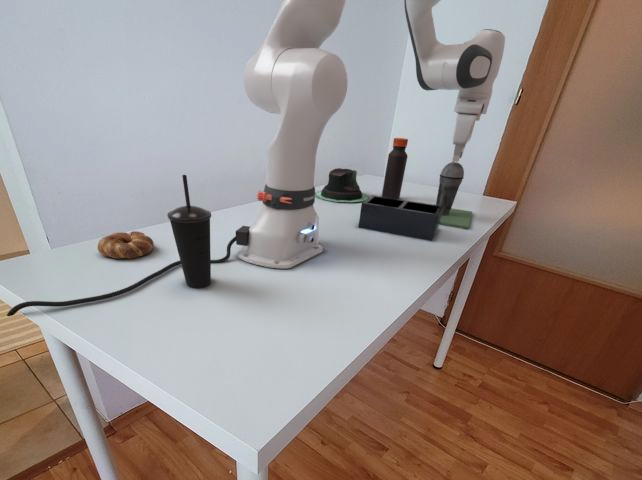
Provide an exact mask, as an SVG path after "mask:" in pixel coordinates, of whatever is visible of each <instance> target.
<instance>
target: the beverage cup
mask: <svg viewBox="0 0 642 480" xmlns="http://www.w3.org/2000/svg"><path fill="white" fill-rule="evenodd" d="M454 150H455V148H454ZM454 150H453V151H454ZM453 156H454V154H453ZM464 176H465V170H464V167H463V165H462V164H461V163H460V162H453V161H451V162H449V163H447V164H445V166H444V167H443V168H442V170H441V171H440V174H439V184H438V190H437V196H436V202H435V205H440V206H444V208H443V212H442V216H447V215H449V212H450V210H451V208H452V207H453V204H454V202H455V199H456V196H457V193H458V191H459V188H460V186H461V184H462V182H463V180H464Z"/></svg>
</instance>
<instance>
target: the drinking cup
mask: <svg viewBox="0 0 642 480" xmlns="http://www.w3.org/2000/svg"><path fill="white" fill-rule="evenodd" d="M181 177H182V184H183V192H184V198H185V205H181V206H179V207H175V208H174V209H173V210H170V211H169V212H167V214H166V216H167V219H168V220H169V222H170V226H171V230H172V234H173V238H174V241H175V245H176V246H175V247H176V250H177V254H178V257H179V261H181V264H180V265H181V268H182V273H183V277H184V280H185V284H186V286H187V287H189V288H192V289H203V288H207V287H209V286H210V285H211V283H212V271H211V270H212V267H211V266H212V265H211V264H212V263H211V260H212V259H211V217H212V212H211V211H210V210H207V209H205V208H203V207H200V206H197V205H191V200H190V193H189V184H188V176H187V175H186V174H182V175H181Z"/></svg>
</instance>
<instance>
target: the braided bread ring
mask: <svg viewBox="0 0 642 480" xmlns="http://www.w3.org/2000/svg"><path fill="white" fill-rule="evenodd" d="M154 247H155V242H154V240H153V238H151V236H148V235H145V233H144V232H141V231H134V230H133V231H130V232H129V233H128V232H114V233H112V234H109V235H106V236H104V237H102V238H101V239H100V240H99V241H98V243H97V251H98V253H99V254H100V255H102V256H104V257H107V258H108V257H110V258H113V259H115V260H119V259H129V260H131V259H136V258H139V257H140V256H145V255H147V254H149V253H151V251H152V250H153V249H154Z"/></svg>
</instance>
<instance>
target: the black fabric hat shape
mask: <svg viewBox="0 0 642 480" xmlns="http://www.w3.org/2000/svg"><path fill="white" fill-rule="evenodd" d="M357 174H358V172H357V170H355V169H353V170H352V169H350V168H342V167H341V168H340V167H338V168H333V169H332V170H330V172H329V173H328V181H327V184H326V185H324V187H322V189H321V190H320V191H318V192H315V197H317V198H319V199H321V200H323V201H329V202H335V203H356V202H358V203H359V202H364V201H365V200H367V199H368V198H369V196H367V195H365V194H364V193H363V192H362V190H361V188H360V185H359V184H358V181H357Z"/></svg>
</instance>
